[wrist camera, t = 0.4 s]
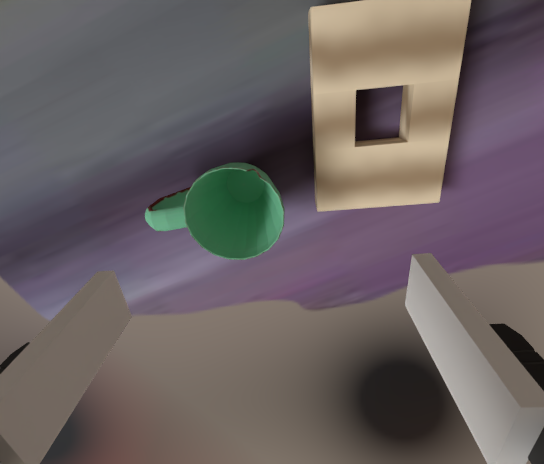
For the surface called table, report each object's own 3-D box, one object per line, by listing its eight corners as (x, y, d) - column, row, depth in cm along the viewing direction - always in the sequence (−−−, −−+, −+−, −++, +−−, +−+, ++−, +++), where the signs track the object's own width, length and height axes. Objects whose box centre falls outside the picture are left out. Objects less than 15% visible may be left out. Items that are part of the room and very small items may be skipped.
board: (308, 13, 30) (310, 7, 27) (456, -6, 29) (473, -14, 26) (315, 202, 39) (317, 211, 36) (428, 193, 38) (439, 202, 35)
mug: (279, 139, 36) (277, 160, 27) (289, 215, 40) (290, 255, 31) (160, 156, 37) (120, 180, 28) (182, 227, 41) (153, 269, 32)
